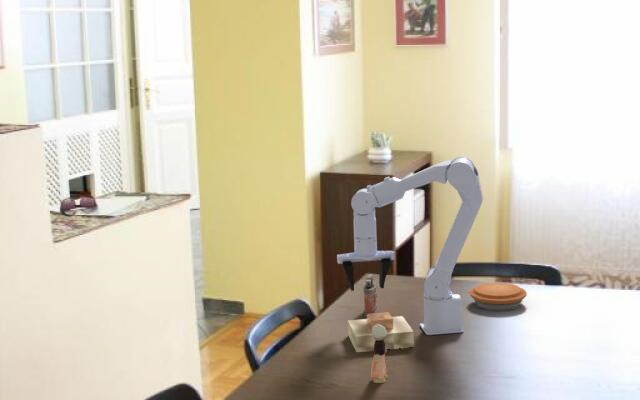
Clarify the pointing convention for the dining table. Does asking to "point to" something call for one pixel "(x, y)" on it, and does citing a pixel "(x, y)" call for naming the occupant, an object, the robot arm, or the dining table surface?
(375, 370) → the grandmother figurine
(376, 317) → the orange brown block
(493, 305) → the pie
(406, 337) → the holder
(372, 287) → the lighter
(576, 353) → the dining table surface
